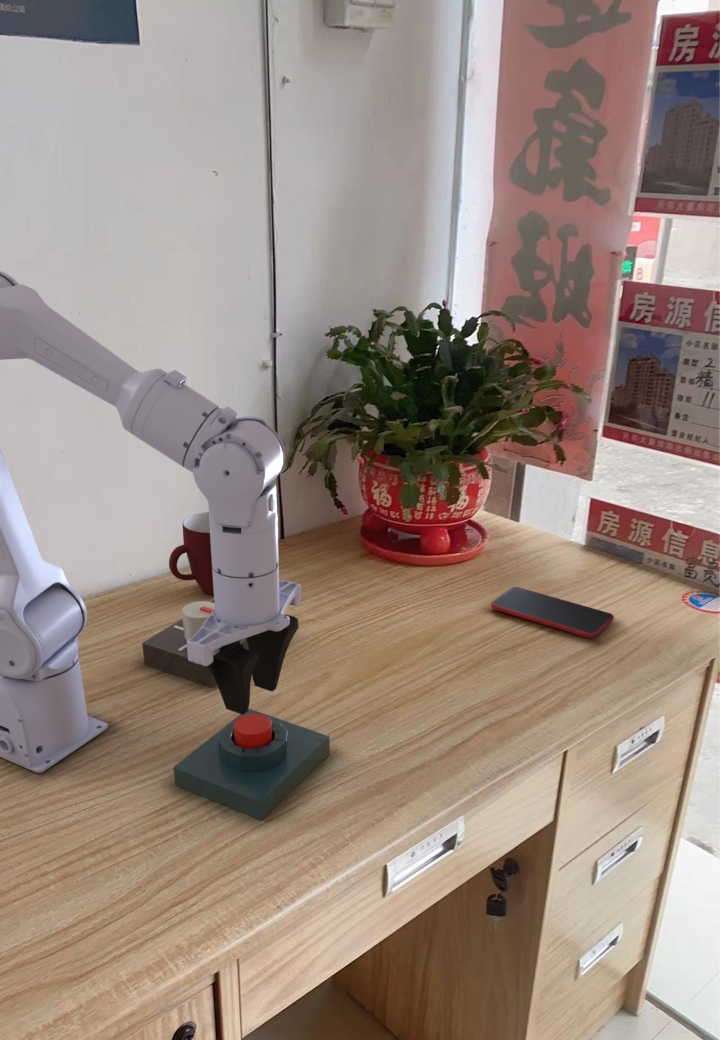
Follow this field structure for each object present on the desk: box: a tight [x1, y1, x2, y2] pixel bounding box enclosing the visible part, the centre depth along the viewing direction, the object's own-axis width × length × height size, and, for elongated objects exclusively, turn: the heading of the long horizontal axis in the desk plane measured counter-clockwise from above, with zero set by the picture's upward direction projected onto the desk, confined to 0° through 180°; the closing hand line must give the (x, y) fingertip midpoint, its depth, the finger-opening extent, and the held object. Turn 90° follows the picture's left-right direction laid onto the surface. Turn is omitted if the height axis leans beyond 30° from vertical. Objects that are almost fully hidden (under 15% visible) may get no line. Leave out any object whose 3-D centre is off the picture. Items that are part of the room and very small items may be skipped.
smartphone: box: [490, 586, 615, 639], centre depth 117 cm, size 7×1×15 cm
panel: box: [141, 599, 249, 688], centre depth 107 cm, size 14×10×3 cm
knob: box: [181, 600, 215, 640], centre depth 103 cm, size 4×4×4 cm
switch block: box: [173, 707, 331, 821], centre depth 86 cm, size 12×10×4 cm
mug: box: [168, 511, 214, 596], centre depth 120 cm, size 10×8×10 cm
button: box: [234, 714, 272, 748], centre depth 84 cm, size 4×4×2 cm
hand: (251, 698), depth 83 cm, fingers open, 4 cm apart
